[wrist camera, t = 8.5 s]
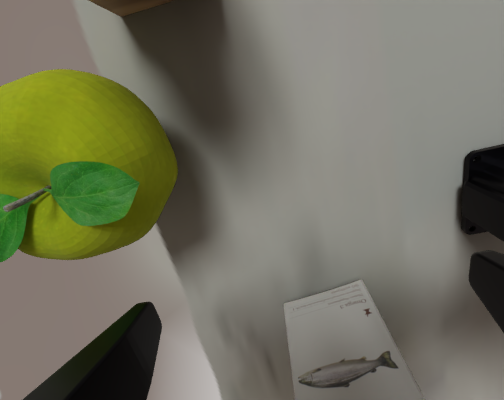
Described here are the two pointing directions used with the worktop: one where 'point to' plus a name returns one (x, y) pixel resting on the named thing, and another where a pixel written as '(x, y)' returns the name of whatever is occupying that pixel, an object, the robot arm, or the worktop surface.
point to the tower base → (128, 5)
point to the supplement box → (345, 349)
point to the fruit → (78, 166)
